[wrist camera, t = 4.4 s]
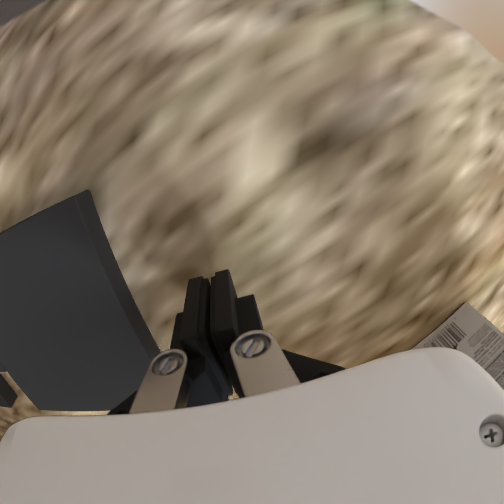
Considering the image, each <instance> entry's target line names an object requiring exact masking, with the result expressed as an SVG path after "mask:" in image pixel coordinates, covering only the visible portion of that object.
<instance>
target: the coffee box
mask: <svg viewBox="0 0 504 504" xmlns="http://www.w3.org/2000/svg"><path fill="white" fill-rule="evenodd" d="M429 347H447V348H451V349H455V350H458V351H460V352H462V353H464V354H466V355H467V356H469V357H470V358H472V359H473V360H474V361H475V362H477V363H478V364H479V365H480V366H481V367H482V368H483V369H484V370H486V371H487V372H488V373H489V374H490V375H491V376H492V377H493V379H494V380H495V381H496V382H497V383H498V384H499V385H500V386H501V388H502V389H503V390H504V334H503V333H502V332H501V331H500V330H498V329H497V328H496V327H495V326H494V325H493V324H492V323H491V322H490V321H488V320H487V319H486V318H485V317H484V316H483V315H481V314H480V313H479V312H478V311H477V310H476V309H474V308H473V307H472V306H471V305H470V304H468V303H464V304H463V305H462V306H461V307H460V308H459V309H458V310H457V311H456V312H455V313H454V314H453V315H452V316H450V317H449V318H448V319H447V320H446V321H445V322H444V323H443V324H441V325H440V326H439V327H438V328H437V329H436V330H434V331H433V332H432V333H431V334H430V335H428V336H427V337H426V338H425V339H423V340H422V341H421V342H420V343H419V344H417V345H416V346H415V347H413V348H412V349H411V350H413V349H421V348H429Z"/></svg>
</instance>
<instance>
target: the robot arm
mask: <svg viewBox="0 0 504 504" xmlns="http://www.w3.org/2000/svg"><path fill="white" fill-rule="evenodd" d="M232 385H233V388H234V390H235V392H236V393H237V394H238V396H239V398H240V399H235V400H230V401H229V398H228V395H233V389H232ZM0 504H504V390H503V389H502V388H501V386H500V385H499V384H498V383H497V382H496V381H495V380H494V379H493V377H492V376H491V375H490V374H489V373H488V372H487V371H486V370H484V369H483V368H482V367H481V366H480V365H479V364H478V363H477V362H475V361H474V360H473V359H472V358H470V357H469V356H467V355H466V354H464V353H462V352H460V351H458V350H455V349H451V348H447V347H429V348H421V349H413V350H408V351H404V352H399V353H395V354H392V355H388V356H385V357H381V358H378V359H375V360H372V361H370V362H367V363H364V364H361V365H358V366H355V367H352V368H349V369H345V368H343V367H341V366H337V365H333V364H330V363H326V362H323V361H319V360H316V359H312V358H309V357H305V356H302V355H299V354H295V353H292V352H289V351H286V350H283V349H281V348H280V346H279V344H278V343H277V341H276V339H275V337H274V336H273V335H272V334H271V333H269V332H267V331H264V330H263V326H262V322H261V318H260V315H259V311H258V308H257V304H256V301H255V297H254V294H252V295H248V296H245V297H241V298H237V295H236V291H235V288H234V285H233V282H232V279H231V275H230V272H229V270H228V269H227V270H223V271H219V272H215V276H214V277H211V285H210V282H209V280H208V278H206V279H203V277H202V276H200V277H197V278H193V279H189V282H188V287H187V293H186V299H185V304H184V310H183V312H181V313H177V315H176V319H175V325H174V330H173V335H172V341H171V347H170V349H169V350H165V351H162V352H160V353H159V354H157V355H156V356H154V357H153V358H152V359H151V361H150V362H149V364H148V366H147V368H146V371H145V373H144V376H143V378H142V381H141V383H140V386H139V388H138V390H136V391H135V392H134V393H133V394H131V395H130V396H129V397H128V398H126V399H125V400H124V401H123V402H121V403H120V404H119V405H118V406H116V407H115V408H114V409H112V410H111V411H110V412H109V413H108V414H107V415H89V416H74V415H63V416H48V415H47V416H36V417H31V418H27V419H24V420H21V421H19V422H17V423H15V424H13V425H12V426H10V427H9V428H8V429H7V431H6V433H5V434H4V436H3V438H2V440H1V442H0Z"/></svg>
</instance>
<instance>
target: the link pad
mask: <svg viewBox="0 0 504 504" xmlns="http://www.w3.org/2000/svg"><path fill="white" fill-rule="evenodd" d="M159 353H160V350H159V348H158V346H157V344H156V343H155V341H154V339H153V337H152V335H151V333H150V331H149V330H148V328H147V326H146V324H145V322H144V320H143V318H142V316H141V314H140V312H139V310H138V308H137V306H136V304H135V302H134V300H133V298H132V296H131V293H130V291H129V289H128V287H127V285H126V283H125V280H124V278H123V276H122V274H121V271H120V269H119V267H118V264H117V262H116V260H115V257H114V255H113V253H112V250H111V248H110V245H109V243H108V240H107V238H106V235H105V232H104V230H103V227H102V224H101V222H100V219H99V216H98V213H97V211H96V208H95V205H94V202H93V199H92V196H91V193H90V191H89V190H86V191H84V192H81V193H79V194H77V195H74V196H72V197H70V198H68V199H66V200H63V201H61V202H59V203H57V204H55V205H53V206H51V207H49V208H47V209H45V210H43V211H40V212H38V213H37V214H35V215H33V216H31V217H29V218H27V219H25V220H23V221H21V222H19V223H17V224H16V225H14V226H12V227H10V228H8V229H7V230H5V231H3V232H1V233H0V372H6V371H7V372H8V373H9V375H10V376H11V377H12V378H13V380H14V381H15V382H16V383H17V385H18V386H19V387H20V388H21V390H22V391H23V392H24V393H25V394H26V396H27V397H28V398H29V399H30V400H31V401H32V402H33V404H34V405H35V406H36V407H37V408H38V409H39V410H51V411H108V410H112V409H114V408H115V407H116V406H118V405H119V404H120V403H121V402H123V401H124V400H125V399H126V398H128V397H129V396H130V395H131V394H133V393H134V392H135V391H136V390H138V388H139V386H140V383H141V381H142V378H143V376H144V373H145V371H146V368H147V366H148V364H149V362H150V361H151V359H152V358H153V357H154V356H156V355H157V354H159Z"/></svg>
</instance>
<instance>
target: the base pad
mask: <svg viewBox="0 0 504 504" xmlns="http://www.w3.org/2000/svg"><path fill="white" fill-rule="evenodd" d="M16 398H17V394H16V393H15V392H14V391H13V390H12V388H11V387H10V386H9V385H8V384H7V382H6V381H5V380H4V378H3V377H2V376H1V375H0V406H2V407H11V408H12V406H13V404H14V402H15V400H16Z"/></svg>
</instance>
